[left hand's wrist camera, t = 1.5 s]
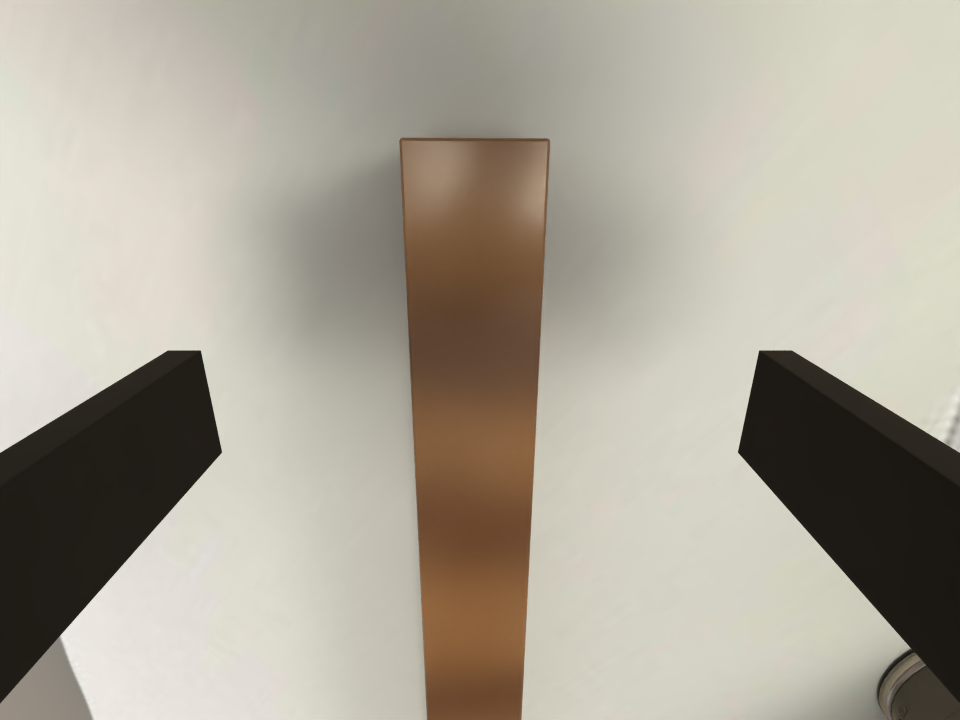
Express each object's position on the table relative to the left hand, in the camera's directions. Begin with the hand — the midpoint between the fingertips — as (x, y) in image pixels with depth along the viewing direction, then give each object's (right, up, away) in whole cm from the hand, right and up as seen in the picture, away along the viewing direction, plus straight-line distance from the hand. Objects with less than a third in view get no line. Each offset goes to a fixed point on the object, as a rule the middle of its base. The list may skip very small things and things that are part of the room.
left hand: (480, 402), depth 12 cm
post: (0, -13, +21) cm, 25 cm away
